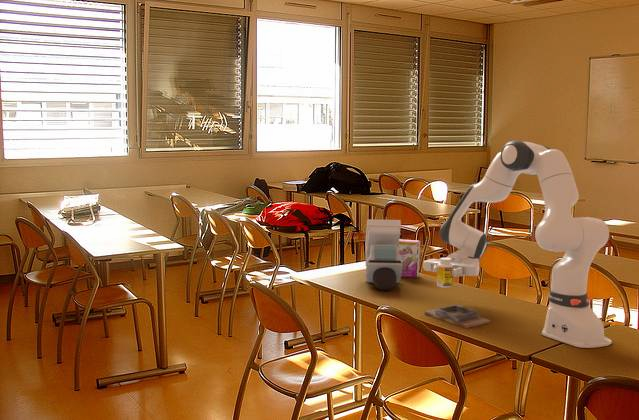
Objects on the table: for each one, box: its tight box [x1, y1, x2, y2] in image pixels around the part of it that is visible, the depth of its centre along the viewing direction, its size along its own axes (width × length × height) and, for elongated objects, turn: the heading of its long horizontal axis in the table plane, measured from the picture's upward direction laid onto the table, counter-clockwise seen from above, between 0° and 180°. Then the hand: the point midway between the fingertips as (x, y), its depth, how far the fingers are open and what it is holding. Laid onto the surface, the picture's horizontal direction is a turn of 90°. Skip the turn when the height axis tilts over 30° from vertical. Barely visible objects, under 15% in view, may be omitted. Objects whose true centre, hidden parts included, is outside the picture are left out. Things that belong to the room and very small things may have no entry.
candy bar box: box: [399, 238, 421, 279], centre depth 306 cm, size 11×5×16 cm, turn 74°
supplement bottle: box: [436, 257, 454, 289], centre depth 245 cm, size 6×6×10 cm
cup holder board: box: [423, 304, 491, 329], centre depth 242 cm, size 20×12×3 cm, turn 36°
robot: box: [364, 218, 402, 291], centre depth 289 cm, size 14×22×30 cm
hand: (444, 271), depth 244 cm, fingers closed on supplement bottle, 5 cm apart
